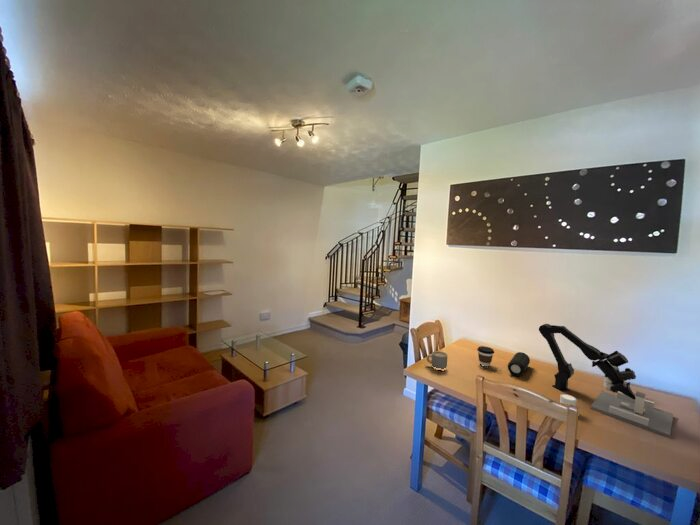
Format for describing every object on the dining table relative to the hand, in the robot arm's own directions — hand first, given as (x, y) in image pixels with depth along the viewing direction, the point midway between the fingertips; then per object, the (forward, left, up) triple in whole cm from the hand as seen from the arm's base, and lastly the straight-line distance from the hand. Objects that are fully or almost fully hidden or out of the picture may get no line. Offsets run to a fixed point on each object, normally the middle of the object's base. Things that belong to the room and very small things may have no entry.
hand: (635, 399), depth 147 cm
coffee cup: (-34, +67, -8) cm, 76 cm away
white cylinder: (-32, +11, -8) cm, 35 cm away
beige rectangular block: (+1, -2, -6) cm, 6 cm away
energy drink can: (+18, +21, -8) cm, 29 cm away
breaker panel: (0, +1, -8) cm, 8 cm away
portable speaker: (-17, +55, -8) cm, 58 cm away
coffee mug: (-70, +72, -8) cm, 101 cm away
